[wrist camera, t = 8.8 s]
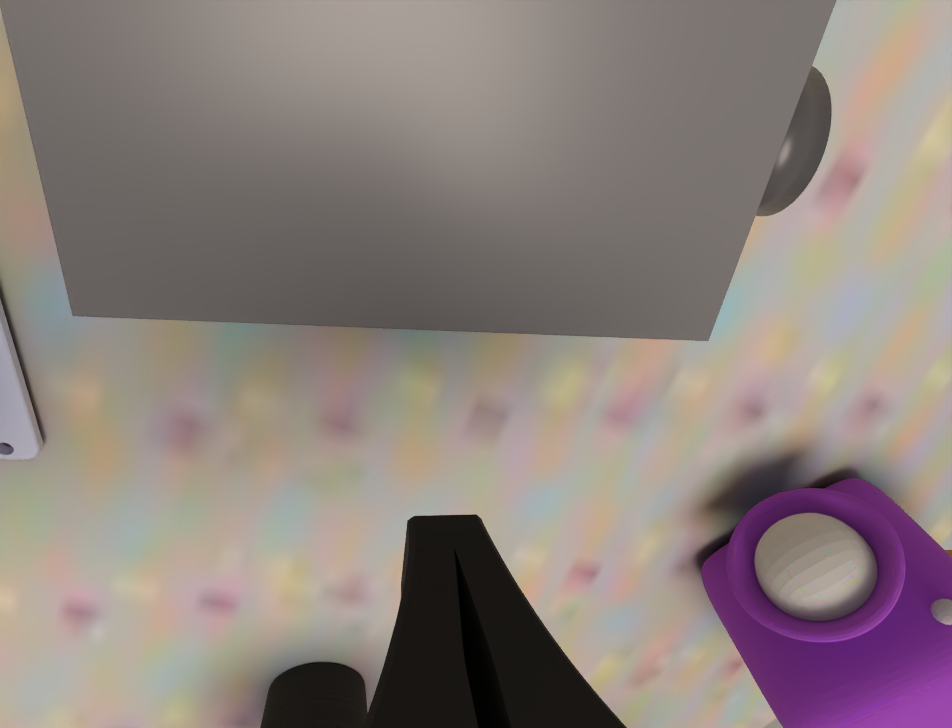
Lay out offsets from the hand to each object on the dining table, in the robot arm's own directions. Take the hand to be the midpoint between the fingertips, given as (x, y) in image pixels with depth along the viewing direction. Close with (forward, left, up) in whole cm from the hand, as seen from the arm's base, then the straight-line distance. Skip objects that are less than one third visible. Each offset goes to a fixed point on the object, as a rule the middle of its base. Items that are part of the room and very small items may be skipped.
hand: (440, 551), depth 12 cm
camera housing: (0, +7, -10) cm, 13 cm away
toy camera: (+20, -12, -11) cm, 26 cm away
